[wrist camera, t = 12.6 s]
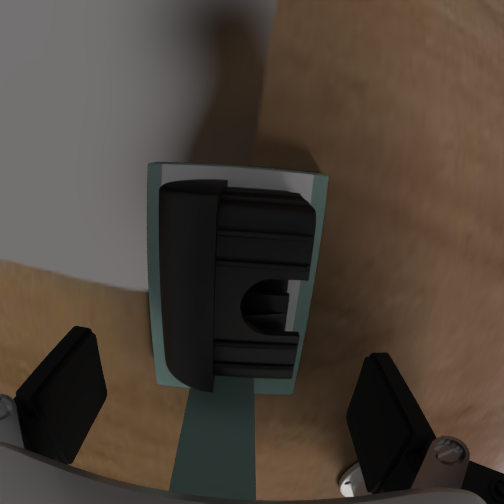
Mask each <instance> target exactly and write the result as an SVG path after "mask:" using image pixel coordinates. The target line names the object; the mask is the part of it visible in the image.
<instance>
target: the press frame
mask: <svg viewBox="0 0 504 504" xmlns="http://www.w3.org/2000/svg"><path fill="white" fill-rule="evenodd" d="M193 179H221V180H228V187H244V188H258V189H271V190H284V191H289V192H293V193H300V194H301V196H302V197H303V198H304V199H305V200H307V201H308V202H309V203H310V205H311V206H312V207H313V208H314V209H315V211H316V229H315V237H314V245H313V252H312V260H311V267H310V274H309V281H302V280H289V282H288V290H287V293H289V296H290V297H289V305H288V312H287V319H286V327H285V331H294V332H299V336H300V338H299V343H298V349H297V355H296V360H295V366H294V371H293V376H292V379H265V378H243V377H227V376H215V381H214V388H213V393H212V392H205V391H200V390H197V389H194V388H191V387H189V386H187V385H185V384H183V383H181V382H180V381H179V380H177V379H176V378H175V377H174V376H173V375H172V374H171V373H170V371H169V370H168V368H167V365H166V362H165V353H164V341H163V328H162V313H161V295H160V271H159V188H160V187H161V186H162V185H163V184H165V183H168V182H173V181H180V180H193ZM328 180H329V176H327V175H324V174H321V173H312V172H304V171H294V170H284V169H274V168H262V167H250V166H236V165H220V164H202V163H178V162H154V163H149V164H148V181H147V182H148V183H147V256H148V284H149V303H150V318H151V330H152V342H153V352H154V362H155V371H156V380H157V384H159V385H166V386H174V387H182V388H190V392H189V396H188V401H187V405H186V410H185V415H184V419H183V424H182V429H181V434H180V438H179V443H178V448H177V453H176V458H175V463H174V468H173V473H172V478H171V483H170V488H169V491H171V492H177V493H184V494H190V495H198V496H206V497H216V498H227V499H241V500H256V476H255V416H254V394H277V395H293V391H294V386H295V382H296V377H297V372H298V367H299V362H300V358H301V353H302V347H303V342H304V337H305V332H306V327H307V321H308V316H309V310H310V304H311V299H312V293H313V287H314V281H315V275H316V268H317V262H318V255H319V249H320V242H321V235H322V228H323V220H324V213H325V205H326V197H327V189H328Z"/></svg>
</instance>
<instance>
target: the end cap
mask: <svg viewBox="0 0 504 504" xmlns="http://www.w3.org/2000/svg"><path fill="white" fill-rule="evenodd" d="M315 229H316V211H315V209H314V208H313V207H312V206H311V205H310V203H309V202H308V201H307V200H305V199H304V198H303V197H302V196H301V194H300V193H293V192H289V191H284V190H271V189H258V188H244V187H228V180H221V179H193V180H180V181H173V182H168V183H165V184H163V185H162V186H161V187H160V188H159V271H160V295H161V313H162V328H163V341H164V353H165V362H166V365H167V368H168V370H169V371H170V373H171V374H172V375H173V376H174V377H175V378H176V379H177V380H179V381H180V382H181V383H183V384H185V385H187V386H189V387H191V388H194V389H197V390H200V391H205V392H212V393H213V388H214V381H215V376H227V377H243V378H265V379H292V376H293V371H294V366H295V360H296V355H297V349H298V343H299V338H300V336H299V332H294V331H285V327H286V319H287V312H288V305H289V297H290V296H289V293H287V290H288V282H289V280H302V281H309V274H310V267H311V260H312V252H313V245H314V237H315Z"/></svg>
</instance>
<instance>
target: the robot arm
mask: <svg viewBox="0 0 504 504" xmlns="http://www.w3.org/2000/svg"><path fill="white" fill-rule="evenodd" d="M16 395H17V396H16V397H15V398H14V399H12V398H11V397H10V396H8V395H4V394H0V504H504V474H503V473H500V472H498V471H495V470H492V469H490V468H487V467H485V466H482V465H479V464H477V463H474V462H472V461H469V459H470V452H469V449H468V447H467V446H466V444H465V443H463V442H462V441H461V440H459V439H457V438H455V437H451V436H441V437H438V438H436V436H435V434H434V432H433V430H432V429H431V427H430V425H429V423H428V421H427V419H426V418H425V416H424V414H423V412H422V410H421V409H420V407H419V405H418V403H417V401H416V400H415V398H414V396H413V394H412V393H411V391H410V389H409V388H408V386H407V384H406V382H405V381H404V379H403V377H402V376H401V374H400V372H399V370H398V369H397V367H396V365H395V364H394V362H393V360H392V359H391V357H390V355H389V354H388V353H371V354H370V356H369V357H366V358H365V360H364V363H363V366H362V369H361V372H360V376H359V379H358V382H357V385H356V388H355V391H354V394H353V396H352V399H351V402H350V405H349V408H348V411H347V415H346V419H347V424H348V427H349V430H350V434H351V437H352V440H353V444H354V447H355V451H356V454H357V458H358V461H359V462H357V463H356V464H354V465H353V466H352V467H351V468H349V469H348V470H347V471H346V472H345V473H344V474H343V475H342V477H341V479H340V481H339V489H340V492H341V494H342V495H343V496H345V497H344V498H333V499H319V500H296V501H265V500H241V499H227V498H216V497H206V496H198V495H190V494H184V493H177V492H171V491H165V490H160V489H155V488H150V487H145V486H140V485H136V484H132V483H128V482H123V481H120V480H116V479H112V478H108V477H105V476H101V475H98V474H94V473H91V472H88V471H85V470H82V469H79V468H76V467H73V466H70V465H68V464H71V463H73V461H74V459H75V457H76V455H77V453H78V451H79V449H80V447H81V445H82V443H83V441H84V440H85V438H86V436H87V434H88V432H89V430H90V428H91V426H92V424H93V422H94V420H95V419H96V417H97V415H98V413H99V411H100V409H101V407H102V405H103V404H104V402H105V400H106V397H107V389H106V384H105V380H104V375H103V371H102V366H101V361H100V356H99V351H98V345H97V339H96V335H95V334H94V333H92V331H91V329H89V328H85V327H80V326H74V327H73V328H72V329H71V330H70V331H69V332H68V334H67V335H66V336H65V337H64V338H63V339H62V340H61V341H60V342H59V343H58V344H57V346H56V347H55V348H54V349H53V350H52V351H51V352H50V353H49V354H48V356H47V357H46V358H45V359H44V360H43V361H42V362H41V363H40V365H39V366H38V367H37V368H36V369H35V370H34V371H33V373H32V374H31V375H30V376H29V377H28V378H27V380H26V381H25V382H24V383H23V384H22V386H21V387H20V388H19V389H18V390H17V391H16Z"/></svg>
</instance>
